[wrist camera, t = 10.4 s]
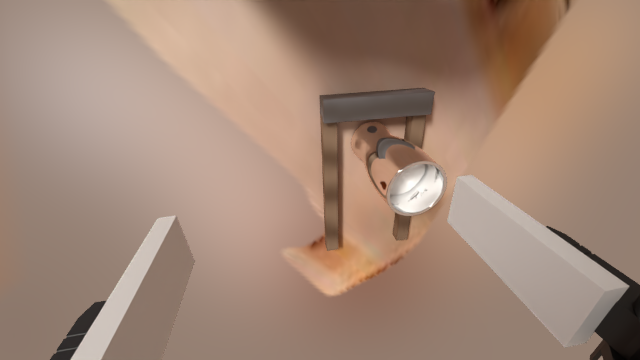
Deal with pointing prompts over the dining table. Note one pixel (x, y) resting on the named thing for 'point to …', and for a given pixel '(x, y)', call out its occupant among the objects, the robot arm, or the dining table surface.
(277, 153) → the dining table surface
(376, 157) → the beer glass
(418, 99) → the guide track
